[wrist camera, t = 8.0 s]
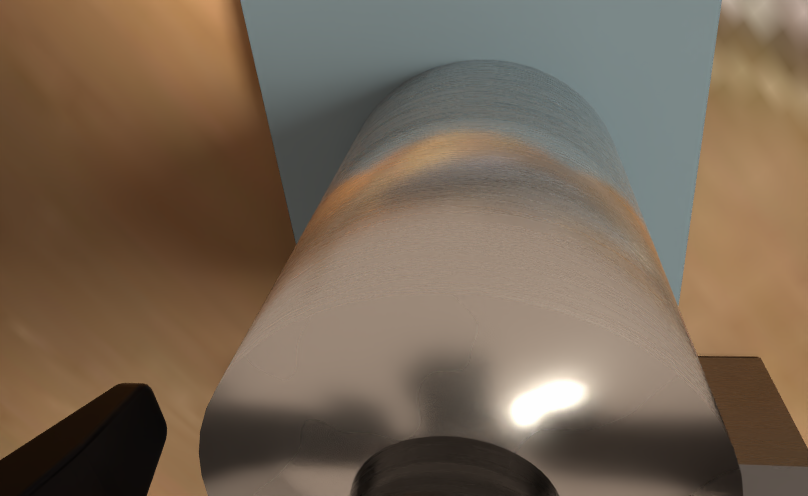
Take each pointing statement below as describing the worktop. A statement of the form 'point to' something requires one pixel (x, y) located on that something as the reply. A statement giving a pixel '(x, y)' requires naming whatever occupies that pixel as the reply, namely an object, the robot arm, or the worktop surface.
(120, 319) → the worktop surface
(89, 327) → the worktop surface
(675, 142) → the mat
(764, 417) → the frame
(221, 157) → the worktop surface
